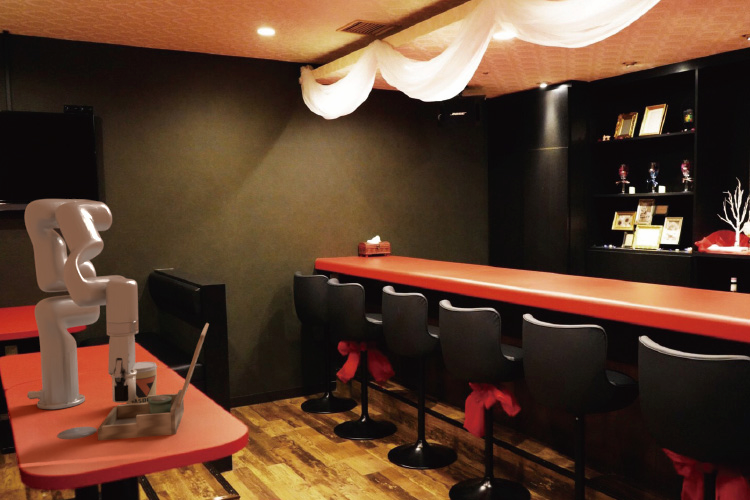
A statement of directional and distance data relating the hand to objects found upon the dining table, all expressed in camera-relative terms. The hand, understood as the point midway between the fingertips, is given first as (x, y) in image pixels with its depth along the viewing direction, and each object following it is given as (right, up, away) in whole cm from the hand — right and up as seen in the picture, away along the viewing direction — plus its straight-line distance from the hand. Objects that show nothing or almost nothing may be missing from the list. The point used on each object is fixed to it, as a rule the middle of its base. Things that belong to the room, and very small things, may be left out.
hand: (124, 396), depth 162 cm
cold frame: (+5, -8, +1) cm, 10 cm away
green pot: (+9, -7, +2) cm, 11 cm away
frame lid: (+17, +8, +2) cm, 19 cm away
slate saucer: (-10, -9, -4) cm, 14 cm away
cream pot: (0, -1, 0) cm, 1 cm away
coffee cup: (-3, -8, +19) cm, 21 cm away
